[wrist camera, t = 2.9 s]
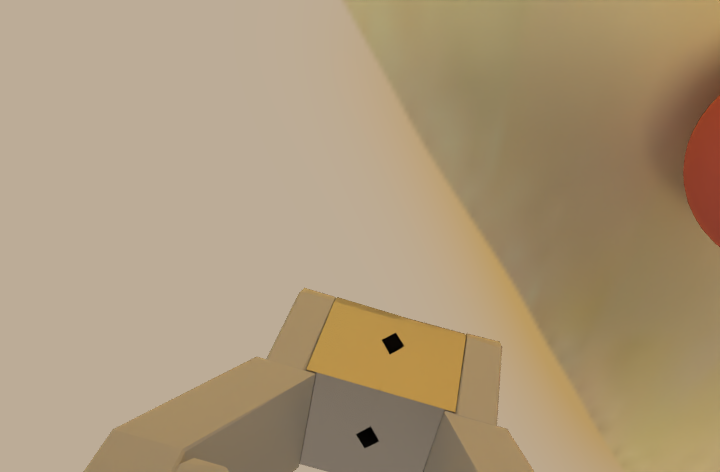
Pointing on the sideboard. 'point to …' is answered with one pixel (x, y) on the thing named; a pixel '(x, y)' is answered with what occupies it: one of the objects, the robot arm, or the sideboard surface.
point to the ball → (705, 171)
